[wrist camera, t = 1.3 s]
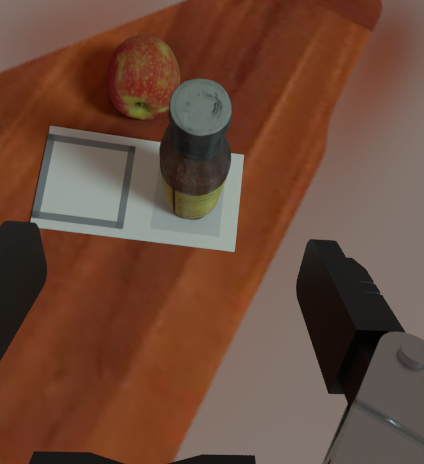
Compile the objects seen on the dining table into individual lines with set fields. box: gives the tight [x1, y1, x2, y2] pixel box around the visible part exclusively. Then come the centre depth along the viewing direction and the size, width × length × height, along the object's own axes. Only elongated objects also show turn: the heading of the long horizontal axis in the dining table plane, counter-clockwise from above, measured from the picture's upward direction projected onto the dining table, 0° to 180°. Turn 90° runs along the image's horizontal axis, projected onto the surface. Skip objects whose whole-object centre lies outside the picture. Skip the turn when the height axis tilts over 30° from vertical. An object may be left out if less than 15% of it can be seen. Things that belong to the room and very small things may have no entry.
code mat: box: [30, 126, 244, 252], centre depth 41 cm, size 23×12×1 cm, turn 84°
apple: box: [107, 35, 180, 120], centre depth 39 cm, size 8×8×8 cm
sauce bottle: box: [159, 78, 232, 220], centre depth 31 cm, size 6×6×20 cm
